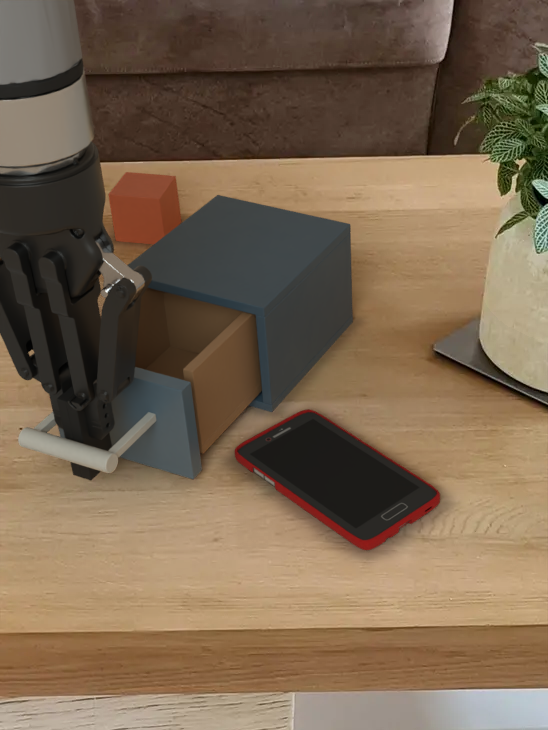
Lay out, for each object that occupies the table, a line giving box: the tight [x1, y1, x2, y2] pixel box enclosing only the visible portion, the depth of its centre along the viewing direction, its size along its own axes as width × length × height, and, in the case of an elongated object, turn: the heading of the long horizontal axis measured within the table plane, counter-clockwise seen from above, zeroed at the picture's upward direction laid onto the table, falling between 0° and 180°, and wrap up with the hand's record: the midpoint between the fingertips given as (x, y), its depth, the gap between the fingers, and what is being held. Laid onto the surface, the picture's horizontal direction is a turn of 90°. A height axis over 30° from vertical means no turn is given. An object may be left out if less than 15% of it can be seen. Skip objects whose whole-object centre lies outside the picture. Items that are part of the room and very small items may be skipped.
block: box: [108, 171, 182, 245], centre depth 112 cm, size 5×5×5 cm
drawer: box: [17, 288, 262, 480], centre depth 85 cm, size 20×11×8 cm, turn 158°
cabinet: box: [126, 194, 354, 413], centre depth 95 cm, size 15×13×10 cm
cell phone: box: [234, 409, 441, 551], centre depth 84 cm, size 8×15×1 cm, turn 46°
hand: (93, 466), depth 81 cm, fingers closed
